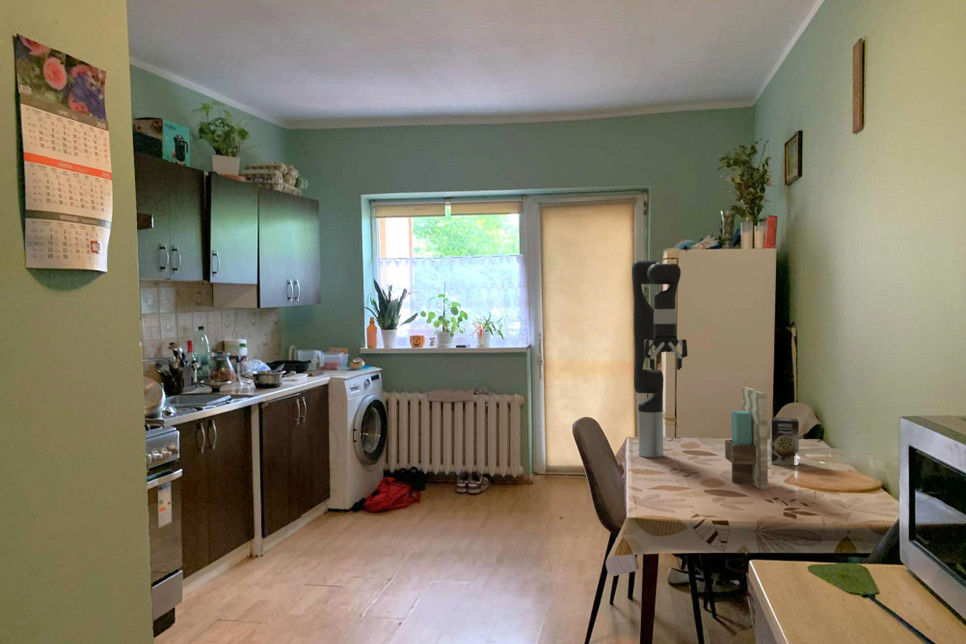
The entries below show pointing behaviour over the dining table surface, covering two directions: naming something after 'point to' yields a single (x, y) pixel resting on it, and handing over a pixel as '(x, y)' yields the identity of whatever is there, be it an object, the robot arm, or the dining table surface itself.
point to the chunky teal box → (741, 428)
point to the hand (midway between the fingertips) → (665, 369)
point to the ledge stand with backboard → (751, 458)
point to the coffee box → (783, 440)
